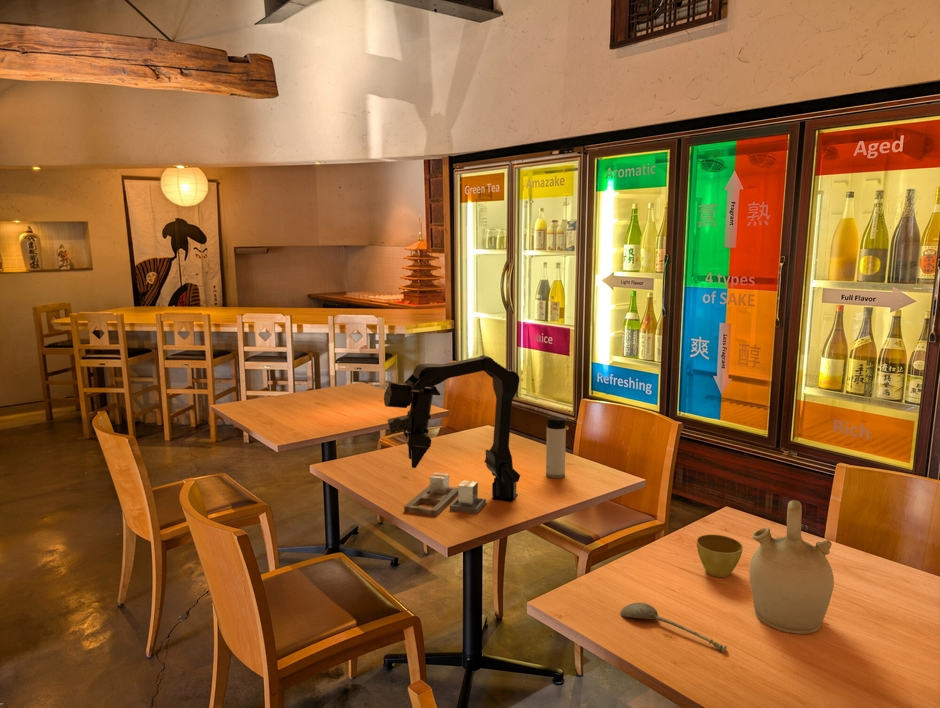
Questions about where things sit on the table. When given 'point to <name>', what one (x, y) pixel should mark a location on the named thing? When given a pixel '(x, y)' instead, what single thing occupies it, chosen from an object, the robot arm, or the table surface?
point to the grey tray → (475, 510)
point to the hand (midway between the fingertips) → (412, 463)
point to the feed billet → (468, 494)
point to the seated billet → (439, 484)
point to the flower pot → (719, 554)
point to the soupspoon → (650, 613)
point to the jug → (791, 578)
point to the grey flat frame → (431, 502)
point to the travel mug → (555, 447)
